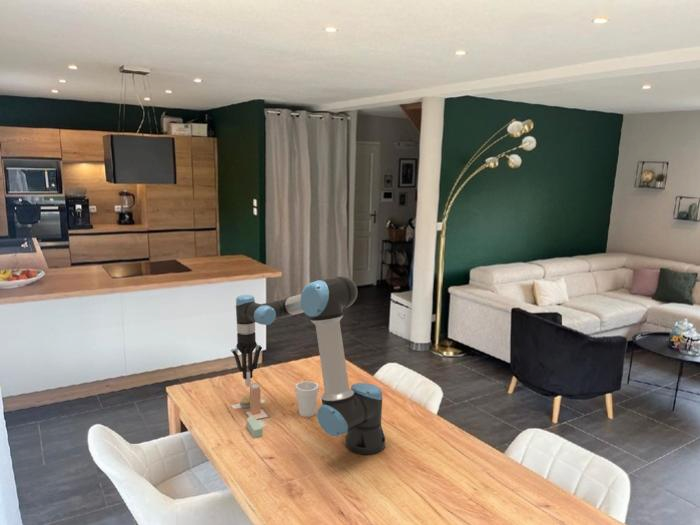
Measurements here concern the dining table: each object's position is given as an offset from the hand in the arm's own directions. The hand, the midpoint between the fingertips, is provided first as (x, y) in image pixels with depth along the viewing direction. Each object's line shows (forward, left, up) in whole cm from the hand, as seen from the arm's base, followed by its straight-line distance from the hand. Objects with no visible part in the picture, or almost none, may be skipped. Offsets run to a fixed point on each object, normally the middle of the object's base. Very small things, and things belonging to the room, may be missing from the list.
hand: (247, 385), depth 221 cm
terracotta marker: (-7, -1, -9) cm, 12 cm away
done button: (+1, 0, -8) cm, 8 cm away
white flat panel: (-10, -1, -10) cm, 14 cm away
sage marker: (-22, +5, -9) cm, 24 cm away
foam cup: (-17, -20, -11) cm, 28 cm away
